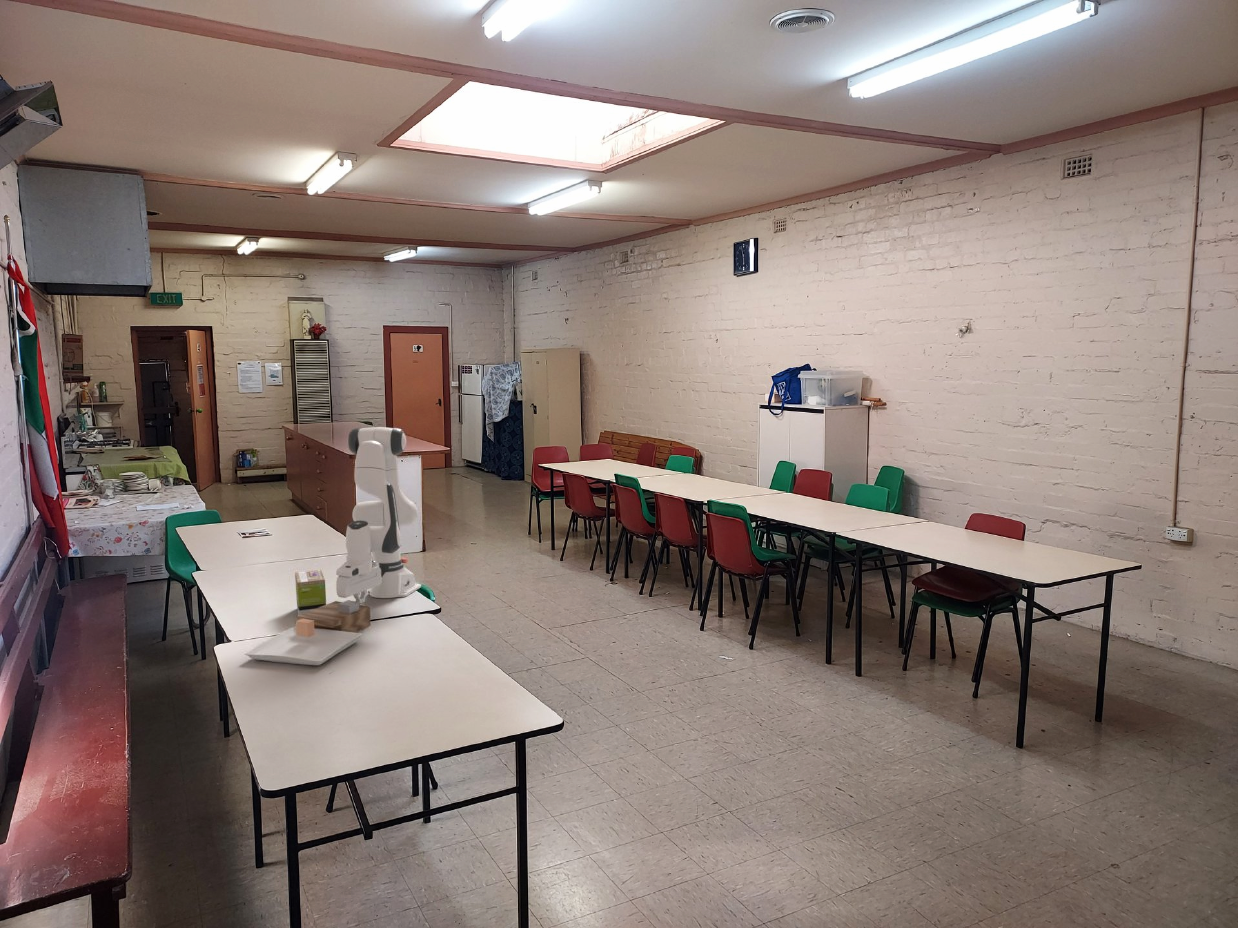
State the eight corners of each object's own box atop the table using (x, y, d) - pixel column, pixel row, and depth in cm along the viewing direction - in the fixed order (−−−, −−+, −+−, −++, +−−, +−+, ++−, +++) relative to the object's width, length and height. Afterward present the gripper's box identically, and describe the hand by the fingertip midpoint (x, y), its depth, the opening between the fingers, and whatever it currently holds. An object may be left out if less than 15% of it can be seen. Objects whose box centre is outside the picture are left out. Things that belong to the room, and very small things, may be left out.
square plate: (321, 671, 255) (320, 660, 255) (243, 664, 261) (242, 652, 260) (364, 642, 282) (364, 631, 281) (293, 635, 287) (292, 625, 286)
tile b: (348, 608, 295) (348, 600, 294) (359, 609, 293) (359, 601, 292) (338, 611, 290) (338, 603, 290) (349, 613, 288) (349, 605, 288)
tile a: (302, 618, 279) (295, 621, 276) (313, 620, 277) (307, 623, 274) (302, 632, 279) (296, 635, 276) (314, 634, 277) (308, 637, 275)
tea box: (296, 608, 316) (294, 571, 314) (323, 605, 320) (322, 568, 318) (298, 620, 302) (297, 581, 300) (327, 616, 306) (325, 578, 304)
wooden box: (336, 619, 304) (335, 600, 303) (370, 625, 297) (370, 606, 296) (297, 634, 286) (297, 615, 285) (333, 641, 280) (332, 622, 279)
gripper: (371, 558, 305) (372, 594, 307) (332, 571, 287) (334, 609, 289) (385, 560, 303) (386, 596, 305) (346, 573, 284) (348, 612, 286)
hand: (360, 603), depth 297 cm, fingers closed
